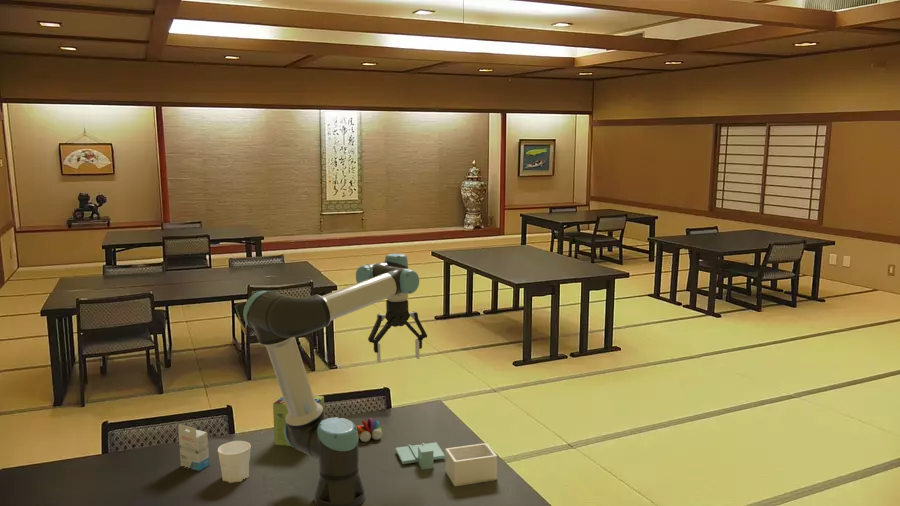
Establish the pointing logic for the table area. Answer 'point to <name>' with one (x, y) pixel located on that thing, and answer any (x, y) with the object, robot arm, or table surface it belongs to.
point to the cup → (234, 460)
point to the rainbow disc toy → (369, 430)
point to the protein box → (279, 419)
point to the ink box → (193, 448)
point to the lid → (420, 454)
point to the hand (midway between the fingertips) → (398, 359)
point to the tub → (471, 464)
